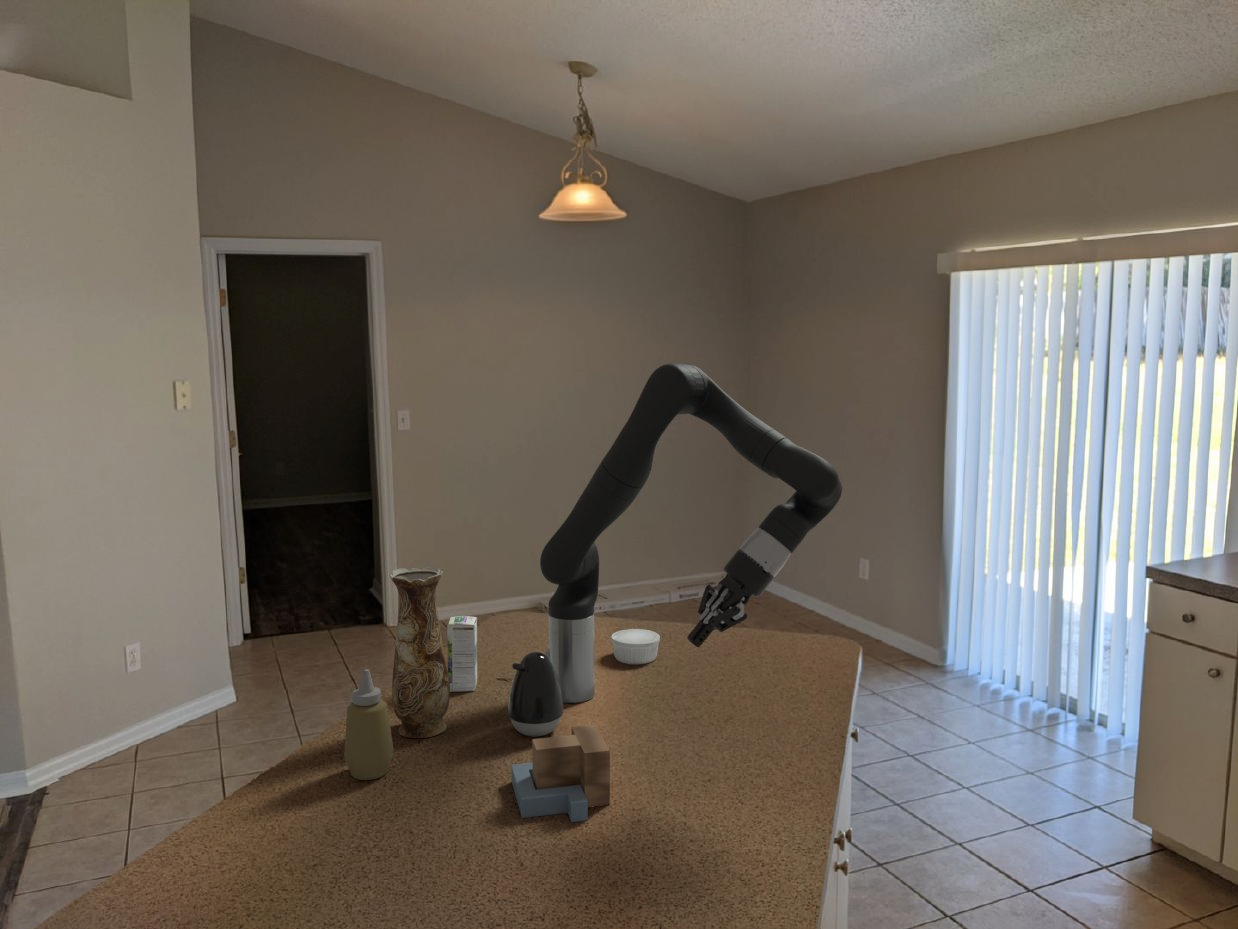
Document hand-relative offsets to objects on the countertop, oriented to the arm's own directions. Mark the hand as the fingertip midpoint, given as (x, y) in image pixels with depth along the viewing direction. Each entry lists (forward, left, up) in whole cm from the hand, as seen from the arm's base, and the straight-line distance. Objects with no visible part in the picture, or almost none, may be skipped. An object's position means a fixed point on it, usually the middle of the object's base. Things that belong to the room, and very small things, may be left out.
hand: (692, 643), depth 154 cm
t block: (-13, -17, -22) cm, 31 cm away
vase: (-51, -11, -23) cm, 57 cm away
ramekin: (-36, +43, -23) cm, 61 cm away
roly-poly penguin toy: (-32, -1, -23) cm, 39 cm away
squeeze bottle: (-46, -29, -23) cm, 59 cm away
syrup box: (-58, +9, -23) cm, 63 cm away
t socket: (-16, -20, -22) cm, 34 cm away
